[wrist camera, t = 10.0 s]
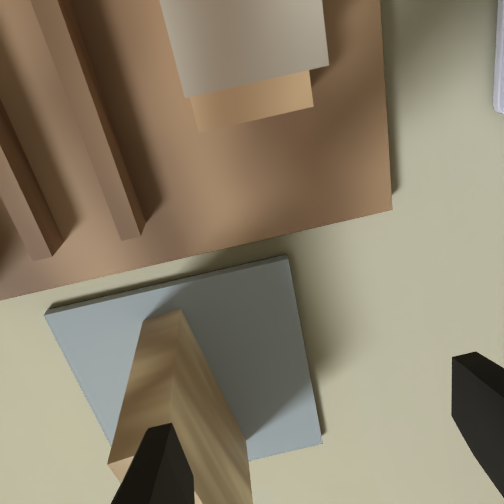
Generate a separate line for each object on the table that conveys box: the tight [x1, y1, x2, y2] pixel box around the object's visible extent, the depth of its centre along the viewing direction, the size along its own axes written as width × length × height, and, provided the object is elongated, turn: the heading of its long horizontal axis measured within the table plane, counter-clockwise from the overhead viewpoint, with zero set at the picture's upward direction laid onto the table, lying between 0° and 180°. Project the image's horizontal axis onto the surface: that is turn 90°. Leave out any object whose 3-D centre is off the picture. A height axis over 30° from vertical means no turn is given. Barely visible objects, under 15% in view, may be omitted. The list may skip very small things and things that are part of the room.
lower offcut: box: [190, 70, 314, 133], centre depth 13 cm, size 4×7×2 cm, turn 11°
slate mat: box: [44, 255, 323, 461], centre depth 22 cm, size 12×13×1 cm
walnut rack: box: [0, 0, 392, 300], centre depth 13 cm, size 20×18×6 cm
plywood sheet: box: [107, 308, 253, 504], centre depth 19 cm, size 2×10×8 cm, turn 19°
